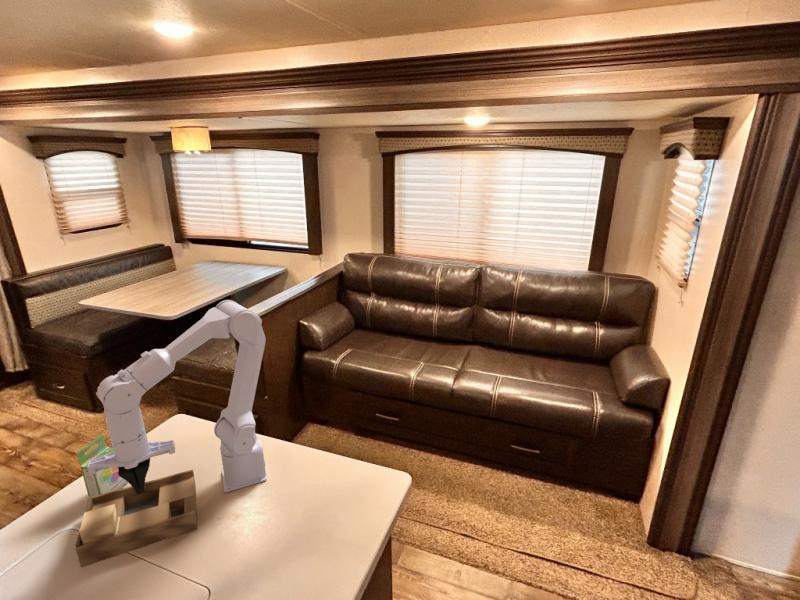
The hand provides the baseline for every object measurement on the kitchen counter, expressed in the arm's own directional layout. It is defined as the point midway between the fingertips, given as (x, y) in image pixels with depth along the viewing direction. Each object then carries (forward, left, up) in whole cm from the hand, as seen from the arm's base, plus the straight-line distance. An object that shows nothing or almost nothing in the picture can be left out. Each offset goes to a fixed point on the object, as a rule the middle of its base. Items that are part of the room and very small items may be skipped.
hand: (141, 489), depth 85 cm
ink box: (+9, -14, -10) cm, 20 cm away
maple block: (+8, +2, -6) cm, 10 cm away
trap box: (+1, -2, -9) cm, 9 cm away
